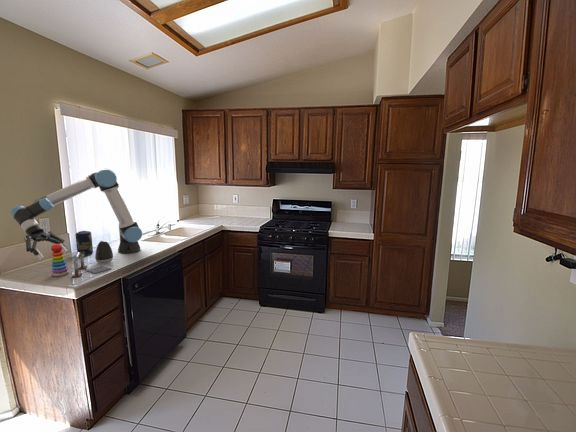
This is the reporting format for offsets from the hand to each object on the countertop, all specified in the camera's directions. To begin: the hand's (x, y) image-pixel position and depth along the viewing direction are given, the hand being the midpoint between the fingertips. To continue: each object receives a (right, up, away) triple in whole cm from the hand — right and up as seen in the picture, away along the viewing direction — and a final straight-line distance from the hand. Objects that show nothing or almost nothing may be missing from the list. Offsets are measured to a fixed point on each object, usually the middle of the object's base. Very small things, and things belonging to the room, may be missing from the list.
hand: (54, 255), depth 172 cm
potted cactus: (+14, -8, +25) cm, 30 cm away
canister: (-11, -5, +42) cm, 44 cm away
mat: (+19, -11, +10) cm, 24 cm away
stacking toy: (+2, -12, +2) cm, 12 cm away
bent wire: (+11, -11, +6) cm, 17 cm away
